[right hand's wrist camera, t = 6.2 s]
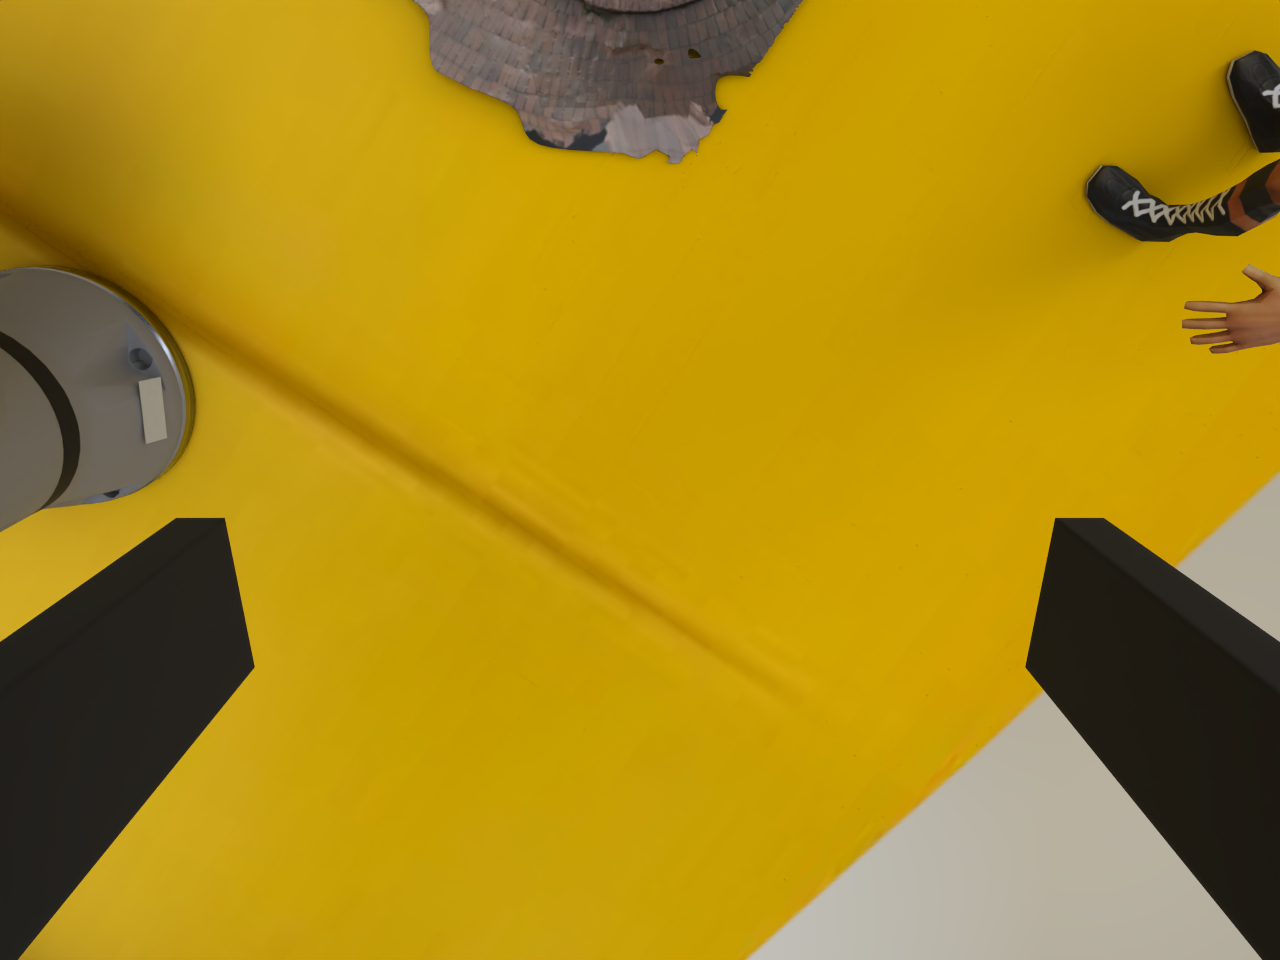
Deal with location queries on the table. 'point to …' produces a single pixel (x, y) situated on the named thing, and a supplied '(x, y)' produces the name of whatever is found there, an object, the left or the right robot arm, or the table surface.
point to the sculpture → (605, 64)
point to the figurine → (1215, 210)
